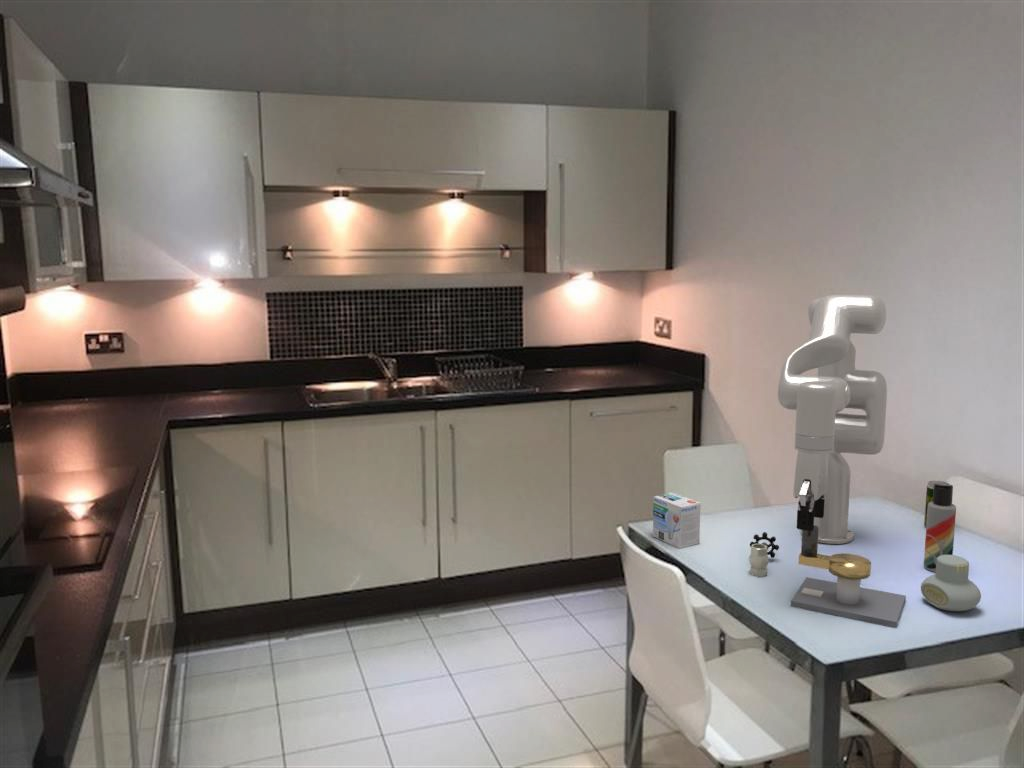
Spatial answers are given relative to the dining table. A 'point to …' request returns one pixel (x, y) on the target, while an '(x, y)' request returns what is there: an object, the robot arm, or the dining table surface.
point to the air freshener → (951, 585)
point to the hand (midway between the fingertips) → (810, 523)
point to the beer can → (930, 495)
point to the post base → (849, 601)
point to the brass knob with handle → (832, 559)
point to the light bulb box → (676, 520)
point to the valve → (761, 554)
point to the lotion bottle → (939, 526)
